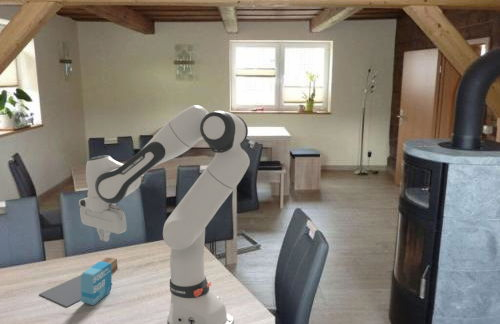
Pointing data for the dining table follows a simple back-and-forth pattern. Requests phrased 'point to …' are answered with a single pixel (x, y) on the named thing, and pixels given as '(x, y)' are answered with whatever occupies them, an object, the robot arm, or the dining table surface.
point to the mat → (65, 292)
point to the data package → (96, 282)
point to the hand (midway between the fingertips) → (104, 240)
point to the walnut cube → (112, 261)
